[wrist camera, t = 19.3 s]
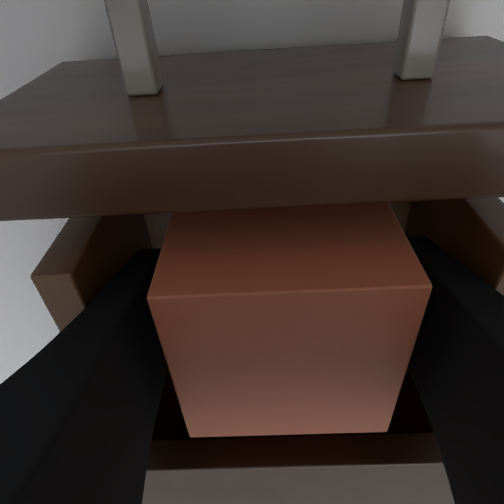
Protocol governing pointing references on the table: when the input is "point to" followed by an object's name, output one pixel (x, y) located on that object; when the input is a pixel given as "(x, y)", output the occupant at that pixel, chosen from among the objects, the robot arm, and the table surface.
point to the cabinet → (298, 470)
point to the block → (288, 317)
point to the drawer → (257, 152)
